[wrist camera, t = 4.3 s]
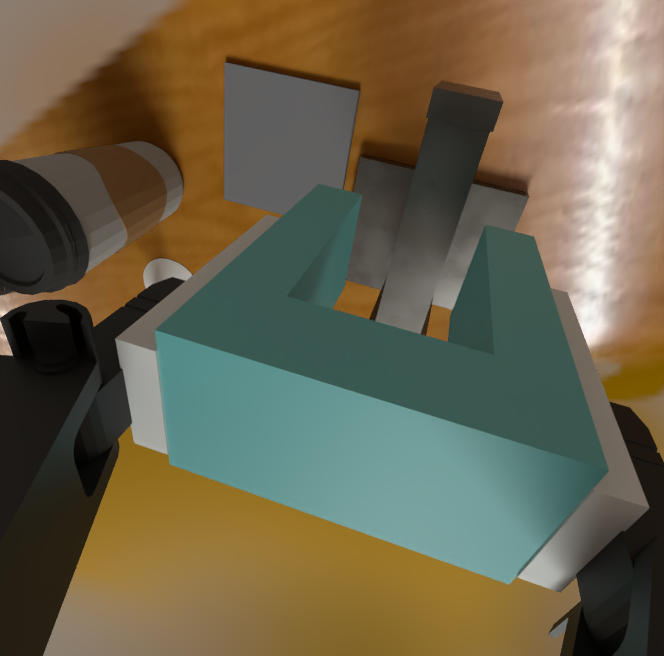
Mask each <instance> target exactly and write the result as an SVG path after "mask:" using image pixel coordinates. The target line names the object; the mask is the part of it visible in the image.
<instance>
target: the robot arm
mask: <svg viewBox="0 0 664 656" xmlns="http://www.w3.org/2000/svg"><path fill="white" fill-rule="evenodd" d="M279 219H280V218H278V217H274V216H270V215H266V216H265V217H263V218H262V219H261V220H260V221H259V222H257V223H256V224H255V225H254V226H252V227H251V228H250V229H249V230H248V231H246V232H245V233H244V234H243V235H241V236H240V237H239V238H238V239H237V240H235V241H234V242H233V243H232V244H230V245H229V246H228V247H227V248H225V249H224V250H223V251H222V252H221V253H219V254H218V255H217V256H216V257H214V258H213V259H212V260H211V261H210V262H208V263H207V264H206V265H205V266H203V267H202V268H201V269H200V270H199V271H197V272H196V273H195V274H194V275H192V276H191V277H190V278H189V279H188V280H186V281H185V280H182V279H178V278H175V277H171V278H168V279H165V280H162V281H160V282H157V283H154V284H152V285H150V286H149V287H148V288H146V289H145V290H144V291H142V292H141V293H140V294H138V295H137V298H135V297H134V298H133V299H131V300H130V301H129V302H127V303H126V304H125V307H121V308H119V309H118V310H117V311H115V312H114V313H113V314H111V315H110V316H109V317H107V318H106V319H105V320H103V321H102V322H100V323H99V324H98V325H96V326H95V327H93V322H92V318H91V315H90V313H89V311H88V309H87V308H86V307H84V306H82V305H80V304H79V303H77V302H72V301H67V300H42V301H38V302H33V303H28V304H25V305H23V306H20V307H18V308H15V309H13V310H11V311H9V312H8V313H7V314H5V315H4V316H3V317H1V318H0V321H1V323H2V326H3V329H4V331H5V334H6V337H7V340H8V342H9V345H10V348H11V350H12V353H13V356H7V355H0V656H43V654H44V651H45V648H46V646H47V643H48V641H49V638H50V635H51V632H52V630H53V627H54V625H55V622H56V619H57V617H58V614H59V611H60V609H61V606H62V603H63V601H64V598H65V596H66V593H67V590H68V588H69V585H70V582H71V580H72V577H73V574H74V572H75V569H76V566H77V563H78V561H79V558H80V556H81V553H82V550H83V548H84V545H85V543H86V540H87V537H88V534H89V532H90V529H91V527H92V524H93V521H94V518H95V516H96V513H97V511H98V508H99V505H100V503H101V500H102V497H103V495H104V492H105V490H106V487H107V484H108V481H109V479H110V476H111V474H112V471H113V468H114V466H115V463H116V461H117V458H118V454H119V442H118V438H119V437H120V436H121V435H122V434H123V433H124V431H125V430H126V429H127V428H128V427H129V426H130V425H131V428H132V433H133V439H134V443H136V444H139V445H142V446H145V447H147V448H150V449H153V450H156V451H159V452H162V453H164V454H168V453H169V447H168V439H167V430H166V421H165V412H164V403H163V394H162V385H161V376H160V367H159V358H158V350H157V346H156V337H155V329H156V328H158V327H159V326H160V325H161V324H162V323H163V322H164V321H165V320H166V319H168V318H169V317H170V316H171V315H172V314H173V313H174V312H175V311H177V310H178V309H179V308H180V307H181V306H182V305H183V304H184V303H186V302H187V301H188V300H189V299H190V298H191V297H192V296H193V295H195V294H196V293H197V292H198V291H199V290H200V289H201V288H202V287H204V286H205V285H206V284H207V283H208V282H209V281H210V280H211V279H213V278H214V277H215V276H216V275H217V274H218V273H219V272H220V271H221V270H223V269H224V268H225V267H226V266H227V265H228V264H229V263H230V262H232V261H233V260H234V259H235V258H236V257H237V256H238V255H239V254H241V253H242V252H243V251H244V250H245V249H246V248H247V247H248V246H250V245H251V244H252V243H253V242H254V241H255V240H256V239H257V238H259V237H260V236H261V235H262V234H263V233H264V232H265V231H266V230H268V229H269V228H270V227H271V226H272V225H273V224H274V223H275V222H276V221H278V220H279ZM551 291H552V294H553V297H554V301H555V304H556V307H557V310H558V313H559V316H560V319H561V322H562V325H563V329H564V332H565V335H566V338H567V341H568V344H569V347H570V350H571V353H572V357H573V360H574V363H575V366H576V369H577V372H578V375H579V378H580V382H581V385H582V388H583V391H584V394H585V397H586V400H587V403H588V406H589V410H590V413H591V416H592V419H593V422H594V425H595V428H596V431H597V434H598V438H599V441H600V444H601V447H602V450H603V453H604V456H605V459H606V463H607V466H608V469H609V471H608V473H607V474H606V475H605V476H604V477H603V478H602V479H601V481H600V482H599V483H598V484H597V485H596V486H595V487H593V488H592V489H591V491H590V492H589V493H588V494H587V495H586V496H585V497H584V499H583V500H582V501H581V502H580V503H579V504H578V505H577V507H576V508H575V509H574V510H573V511H572V512H571V513H570V515H569V516H568V517H567V518H566V519H565V520H564V521H563V523H562V524H561V525H560V526H559V527H558V528H557V529H556V531H555V532H554V533H553V534H552V535H551V536H550V537H549V539H548V540H547V541H546V542H545V543H544V544H543V545H542V547H541V548H540V549H539V550H538V551H537V552H536V553H535V555H534V556H533V557H532V558H531V559H530V560H529V561H528V563H527V564H526V565H525V566H524V567H523V568H522V569H521V571H520V572H519V573H518V574H517V577H518V578H521V579H523V580H526V581H529V582H532V583H534V584H537V585H540V586H543V587H546V588H549V589H552V590H555V591H557V592H561V591H562V590H563V589H565V588H566V587H567V586H568V585H569V584H570V583H571V582H572V581H573V580H574V579H575V578H576V577H577V581H578V587H579V592H580V597H581V601H580V602H579V603H578V604H577V605H576V606H575V607H573V608H572V609H571V610H570V611H569V612H568V613H566V614H565V615H564V616H563V617H562V618H561V619H559V620H558V621H557V622H556V623H555V624H554V625H553V627H552V629H551V630H550V632H549V635H550V636H551V637H553V638H556V637H557V636H558V635H560V634H561V633H562V632H563V631H565V630H566V631H565V635H564V640H563V645H562V649H561V654H560V656H664V462H663V460H662V458H661V455H660V453H657V447H656V444H655V442H654V440H653V438H652V436H651V433H650V431H649V429H648V428H647V427H646V425H645V424H644V423H643V422H642V421H641V420H640V419H639V417H638V416H637V415H636V414H635V413H634V412H633V411H632V410H631V408H629V407H626V406H622V405H619V404H616V403H612V402H609V401H608V398H607V395H606V393H605V390H604V388H603V385H602V382H601V380H600V377H599V374H598V372H597V369H596V367H595V364H594V361H593V359H592V356H591V353H590V351H589V348H588V346H587V343H586V340H585V338H584V335H583V333H582V330H581V327H580V325H579V322H578V319H577V317H576V314H575V312H574V309H573V306H572V304H571V301H570V298H569V296H568V293H567V292H563V291H559V290H556V289H552V288H551ZM13 292H15V291H12V290H9V289H7V288H6V287H4V286H2V285H0V295H5V294H10V293H13Z"/></svg>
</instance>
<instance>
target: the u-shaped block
mask: <svg viewBox="0 0 664 656" xmlns="http://www.w3.org/2000/svg"><path fill="white" fill-rule="evenodd" d="M361 199H362V194H358V193H354V192H350V191H346V190H342V189H338V188H334V187H330V186H326V185H322V184H318V185H317V186H316V187H315V188H314V189H312V190H311V191H310V192H309V193H308V194H307V195H306V196H305V197H303V198H302V199H301V200H300V201H299V202H298V203H297V204H296V205H294V206H293V207H292V208H291V209H290V210H289V211H288V212H287V213H285V214H284V215H283V216H282V217H281V218H280V219H279V220H278V221H276V222H275V223H274V224H273V225H272V226H271V227H270V228H269V229H268V230H266V231H265V232H264V233H263V234H262V235H261V236H260V237H259V238H257V239H256V240H255V241H254V242H253V243H252V244H251V245H250V246H248V247H247V248H246V249H245V250H244V251H243V252H242V253H241V254H239V255H238V256H237V257H236V258H235V259H234V260H233V261H232V262H230V263H229V264H228V265H227V266H226V267H225V268H224V269H223V270H221V271H220V272H219V273H218V274H217V275H216V276H215V277H214V278H213V279H211V280H210V281H209V282H208V283H207V284H206V285H205V286H204V287H202V288H201V289H200V290H199V291H198V292H197V293H196V294H195V295H193V296H192V297H191V298H190V299H189V300H188V301H187V302H186V303H184V304H183V305H182V306H181V307H180V308H179V309H178V310H177V311H175V312H174V313H173V314H172V315H171V316H170V317H169V318H168V319H166V320H165V321H164V322H163V323H162V324H161V325H160V326H159V327H158V328H156V329H155V337H156V346H157V350H158V358H159V367H160V376H161V385H162V394H163V403H164V412H165V421H166V430H167V439H168V447H169V461H170V465H173V466H176V467H179V468H182V469H185V470H188V471H190V472H193V473H196V474H199V475H202V476H204V477H207V478H210V479H213V480H216V481H218V482H221V483H224V484H227V485H230V486H233V487H236V488H238V489H241V490H244V491H247V492H249V493H253V494H255V495H258V496H261V497H264V498H266V499H270V500H272V501H275V502H278V503H280V504H283V505H286V506H289V507H292V508H295V509H298V510H301V511H303V512H306V513H309V514H312V515H314V516H317V517H320V518H323V519H326V520H328V521H331V522H334V523H337V524H340V525H343V526H346V527H349V528H351V529H354V530H357V531H360V532H363V533H365V534H368V535H371V536H374V537H377V538H380V539H382V540H385V541H388V542H391V543H393V544H396V545H399V546H402V547H405V548H407V549H411V550H413V551H416V552H419V553H422V554H424V555H427V556H430V557H433V558H436V559H438V560H441V561H444V562H447V563H450V564H453V565H456V566H458V567H461V568H464V569H467V570H470V571H472V572H475V573H478V574H481V575H484V576H486V577H489V578H492V579H495V580H498V581H501V582H504V583H507V584H510V583H511V582H512V581H513V580H514V578H515V577H516V576H517V574H518V573H519V572H520V571H521V569H522V568H523V567H524V566H525V565H526V564H527V563H528V561H529V560H530V559H531V558H532V557H533V556H534V555H535V553H536V552H537V551H538V550H539V549H540V548H541V547H542V545H543V544H544V543H545V542H546V541H547V540H548V539H549V537H550V536H551V535H552V534H553V533H554V532H555V531H556V529H557V528H558V527H559V526H560V525H561V524H562V523H563V521H564V520H565V519H566V518H567V517H568V516H569V515H570V513H571V512H572V511H573V510H574V509H575V508H576V507H577V505H578V504H579V503H580V502H581V501H582V500H583V499H584V497H585V496H586V495H587V494H588V493H589V492H590V491H591V489H592V488H593V487H595V486H596V485H597V484H598V483H599V482H600V481H601V479H602V478H603V477H604V476H605V475H606V474H607V473H608V471H609V469H608V466H607V463H606V459H605V456H604V453H603V450H602V447H601V444H600V441H599V438H598V434H597V431H596V428H595V425H594V422H593V419H592V416H591V413H590V410H589V406H588V403H587V400H586V397H585V394H584V391H583V388H582V385H581V382H580V378H579V375H578V372H577V369H576V366H575V363H574V360H573V357H572V353H571V350H570V347H569V344H568V341H567V338H566V335H565V332H564V329H563V325H562V322H561V319H560V316H559V313H558V310H557V307H556V304H555V301H554V297H553V294H552V291H551V288H550V285H549V282H548V279H547V276H546V273H545V269H544V266H543V263H542V260H541V257H540V254H539V251H538V248H537V244H536V241H535V238H534V236H530V235H526V234H522V233H518V232H514V231H509V230H505V229H501V228H497V227H493V226H489V225H485V227H484V229H483V232H482V235H481V237H480V240H479V242H478V245H477V248H476V250H475V253H474V255H473V258H472V261H471V263H470V266H469V268H468V271H467V274H466V276H465V279H464V281H463V284H462V287H461V289H460V292H459V294H458V297H457V300H456V302H455V305H454V307H453V310H452V313H451V315H450V325H449V336H448V342H446V341H443V340H439V339H436V338H432V337H429V336H425V335H422V334H418V333H415V332H411V331H408V330H404V329H401V328H397V327H394V326H390V325H387V324H383V323H380V322H376V321H373V320H369V319H366V318H362V317H359V316H355V315H352V314H348V313H345V312H341V311H338V310H334V309H333V307H334V305H335V303H336V301H337V299H338V297H339V296H340V294H341V292H342V290H343V288H344V286H345V281H346V275H347V270H348V265H349V260H350V255H351V250H352V245H353V240H354V235H355V230H356V225H357V220H358V215H359V210H360V205H361Z"/></svg>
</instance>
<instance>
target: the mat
mask: <svg viewBox="0 0 664 656" xmlns="http://www.w3.org/2000/svg"><path fill="white" fill-rule="evenodd" d="M359 95H360V90H355V89H351V88H346V87H341V86H336V85H332V84H327V83H322V82H318V81H313V80H308V79H304V78H299V77H294V76H290V75H285V74H280V73H275V72H271V71H266V70H261V69H257V68H252V67H247V66H243V65H238V64H233V63H229V62H225V103H224V199H225V200H229V201H233V202H236V203H240V204H244V205H248V206H252V207H255V208H259V209H263V210H267V211H271V212H274V213H278V214H282V215H284V214H285V213H287V212H288V211H289V210H290V209H291V208H292V207H293V206H294V205H296V204H297V203H298V202H299V201H300V200H301V199H302V198H303V197H305V196H306V195H307V194H308V193H309V192H310V191H311V190H312V189H314V188H315V187H316V186H317V185H318V184H322V185H326V186H330V187H334V188H338V189H342V190H344V184H345V178H346V172H347V166H348V160H349V154H350V148H351V142H352V137H353V131H354V125H355V119H356V113H357V107H358V101H359Z"/></svg>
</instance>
